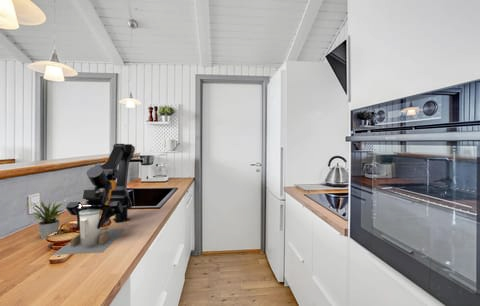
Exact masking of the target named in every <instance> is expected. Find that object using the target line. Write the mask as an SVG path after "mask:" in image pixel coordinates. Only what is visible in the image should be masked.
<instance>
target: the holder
mask: <svg viewBox="0 0 480 306" xmlns="http://www.w3.org/2000/svg"><path fill="white" fill-rule="evenodd" d="M100 230H101V232H100V237H99V243H98V244H96V245H93V246H87V247H84V246H81V245H80V232H79V233H77V234H76V235H74V236H73V237H71V238H70V242H71V243H70V242H68V243H67V244H65V245H64V246H62V247H61V248H59V249H58V250H57V251H55V252H54V253H52V254H51V256H56V255H57V256H59V255H60V256H62V255H79V254H80V255H81V254H101V253H104V252H105V251H106V250H107V249H108V248H109V247H110V246H111V245H113V244H114V242H115V241H116V240H117V239H118V238H119V237H120V236H121V235H122V234H123V233H124V232H125V231H126V230H127V228H105V229H100Z"/></svg>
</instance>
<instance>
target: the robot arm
mask: <svg viewBox="0 0 480 306" xmlns="http://www.w3.org/2000/svg"><path fill="white" fill-rule="evenodd" d="M135 151H136V147H135V145H134V146H133V144H132V143H127V144H126V143H114V144H113V146H112V150H111V152H110V154H109V156H108V158H107V159H108V160H107V162H104V163H103V164H95V165H94V166H92V167H90V168H89V169H87V171H86V172H85V173H86V176H87V178H88V180H89V181H90V183H91V185H93V186H94V188H93V189H83V194H82V200H83V199H84V200H85V203H86V205H85V204H84V205H83V204H82V202H80V201H70V202H68V203H67V205H66V207H65V209H66V210H67V211H68V213H69V214H70V215H71V216H76V221H77V222H76V223H77V224H76V225H77V230H79V231H80V215H79V212H80V211H82V210H86V209H100V210H102V215H101V214H100V220H99V223H98V227H97V228H98V229H100V230H101V227H103V225H105V223H106V222H107V221H108V220H109V219H110V218H112V217H114V218H113V219H112V220H113V221H114V222H115V223H120V222H121V223H122V222H127V221H130V220H131V218H130V217H129V215H128V214H129V213H128V212H129V211H128V210H129V209H131V208H132V207H133V206H132V205H133V201H132V199H131V198H130V192H129V191H128V189H127V185H128V175H129V166H130V162H131V160H132V159H133V158H134V154H135ZM113 180H115V181H116V188H115V189H114V190H112V191H111V197H110V199H109V198H108V195H109V192H110V190H111V189H112V183H111V182H110V181H113ZM108 199H109V202H108V205H105V204H106V201H108Z"/></svg>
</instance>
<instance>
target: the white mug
mask: <svg viewBox="0 0 480 306" xmlns="http://www.w3.org/2000/svg"><path fill="white" fill-rule="evenodd" d="M100 212H101V210H100V209H86V210H82V211H80V212H79V215H80V229H79V233H80V245H81V246H84V247H87V246H93V245H96V244H98V243H99V237H100V230H101V228H100V229H98V228H97V227H98V223H99V220H100V218H101V214H100Z"/></svg>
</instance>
